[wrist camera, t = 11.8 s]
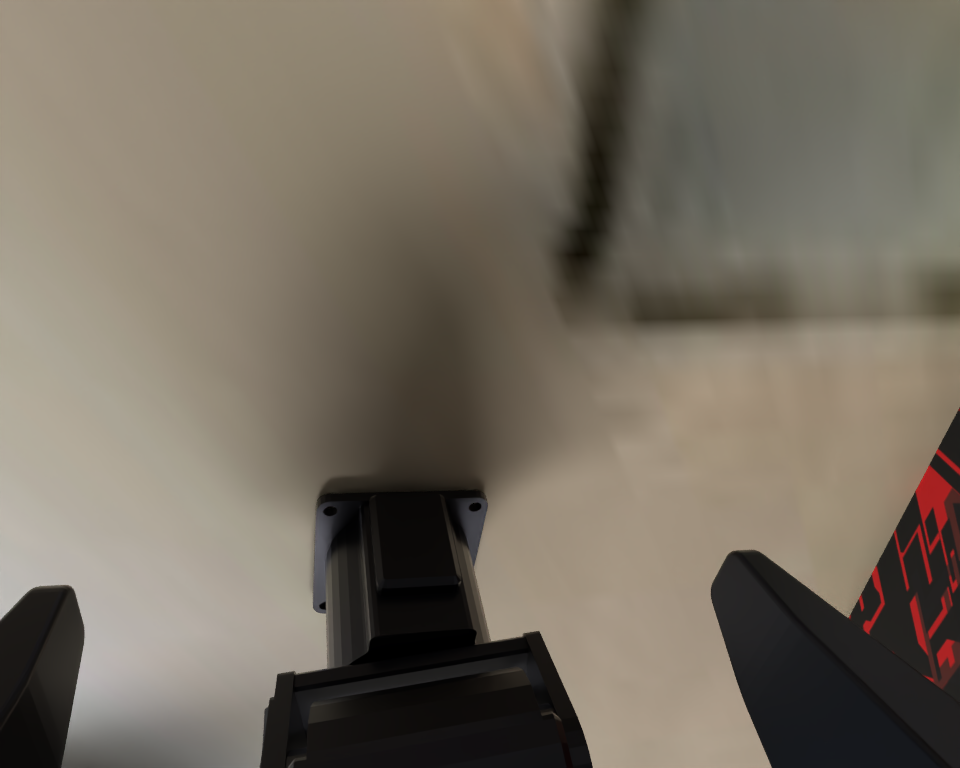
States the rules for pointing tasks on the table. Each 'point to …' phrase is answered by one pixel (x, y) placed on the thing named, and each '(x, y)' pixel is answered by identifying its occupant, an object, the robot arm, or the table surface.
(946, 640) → the box
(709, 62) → the table surface
